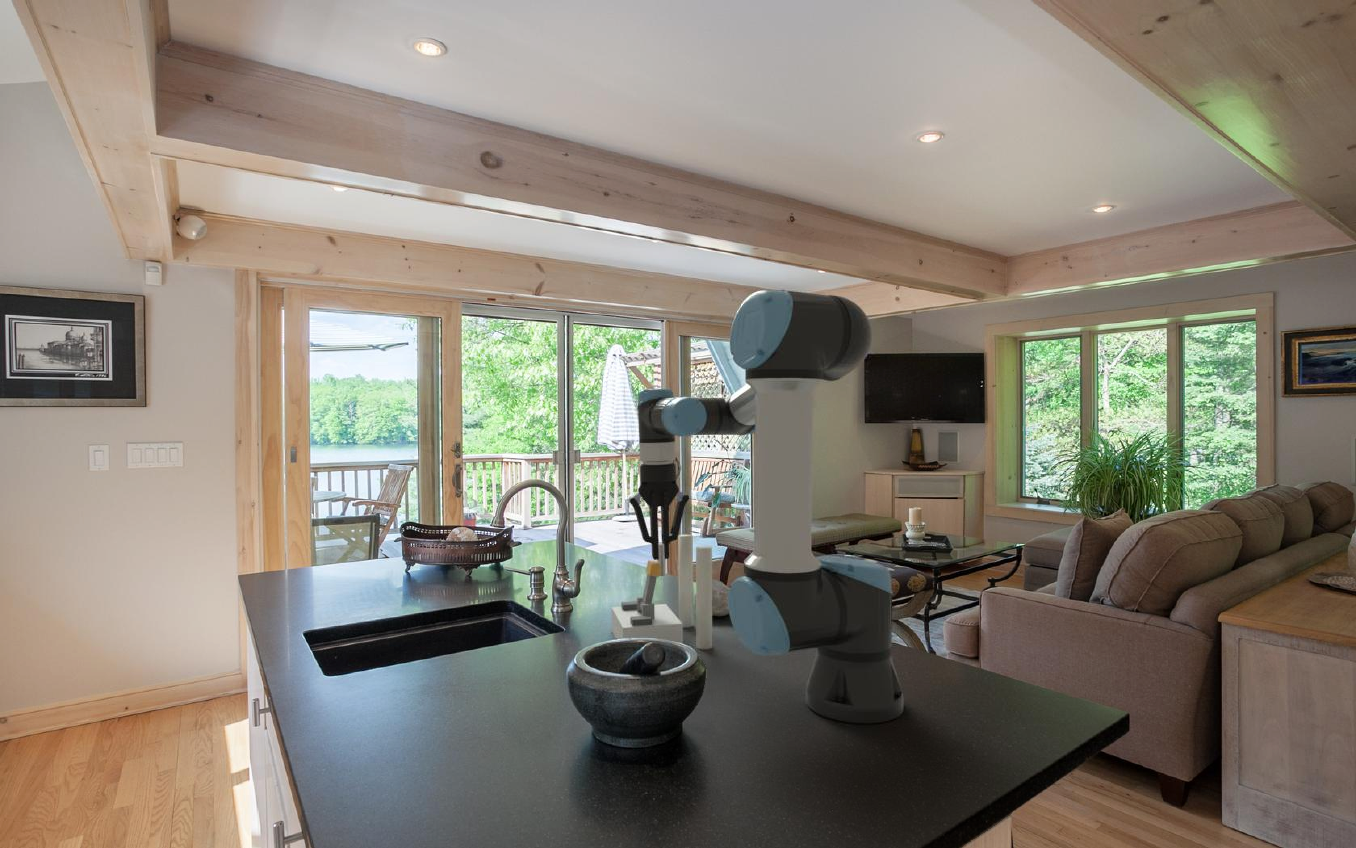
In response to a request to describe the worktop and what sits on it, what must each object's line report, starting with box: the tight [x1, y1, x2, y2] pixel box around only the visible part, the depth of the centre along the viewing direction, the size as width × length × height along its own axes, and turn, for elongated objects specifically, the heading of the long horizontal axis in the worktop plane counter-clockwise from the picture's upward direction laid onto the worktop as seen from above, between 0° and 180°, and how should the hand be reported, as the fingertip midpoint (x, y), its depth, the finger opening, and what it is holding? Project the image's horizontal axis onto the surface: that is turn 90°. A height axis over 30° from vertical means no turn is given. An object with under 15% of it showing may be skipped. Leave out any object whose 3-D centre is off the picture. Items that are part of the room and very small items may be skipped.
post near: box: [695, 545, 713, 650], centre depth 145 cm, size 3×3×20 cm
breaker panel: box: [611, 596, 684, 643], centre depth 150 cm, size 16×12×8 cm
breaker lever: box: [639, 559, 661, 611], centre depth 150 cm, size 4×2×10 cm, turn 13°
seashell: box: [693, 578, 730, 617], centre depth 170 cm, size 9×12×15 cm
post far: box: [677, 534, 694, 629], centre depth 160 cm, size 3×3×20 cm
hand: (661, 574), depth 151 cm, fingers closed
